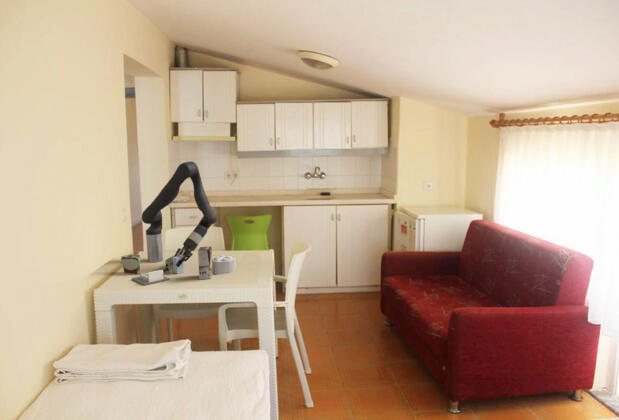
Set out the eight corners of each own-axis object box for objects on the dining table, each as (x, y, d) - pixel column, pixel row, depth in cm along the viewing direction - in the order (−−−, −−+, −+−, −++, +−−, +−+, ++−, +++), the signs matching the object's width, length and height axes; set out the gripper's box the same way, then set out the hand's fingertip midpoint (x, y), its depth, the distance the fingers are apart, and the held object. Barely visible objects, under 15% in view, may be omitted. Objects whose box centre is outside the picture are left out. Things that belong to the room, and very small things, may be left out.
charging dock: (132, 279, 263) (131, 269, 262) (156, 274, 272) (155, 264, 271) (144, 285, 251) (143, 274, 250) (169, 280, 260) (169, 269, 260)
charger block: (173, 272, 276) (172, 257, 275) (179, 271, 279) (179, 255, 278) (177, 274, 273) (176, 258, 272) (183, 272, 276) (182, 257, 274)
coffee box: (211, 279, 261) (209, 249, 259) (199, 279, 260) (197, 250, 258) (213, 274, 270) (211, 246, 268) (201, 275, 270) (199, 246, 267)
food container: (146, 271, 279) (145, 254, 278) (139, 274, 273) (138, 257, 272) (129, 270, 283) (128, 253, 282) (122, 273, 277) (120, 256, 276)
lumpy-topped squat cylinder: (211, 270, 279) (211, 255, 278) (234, 268, 283) (233, 253, 282) (214, 275, 269) (213, 259, 268) (237, 272, 274) (237, 257, 273)
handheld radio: (184, 262, 300) (166, 273, 276) (179, 263, 301) (160, 273, 276) (183, 252, 299) (164, 261, 275) (178, 252, 300) (159, 262, 275)
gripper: (182, 235, 283) (164, 259, 277) (194, 238, 273) (176, 263, 267) (191, 243, 288) (173, 266, 281) (203, 246, 277) (185, 271, 271)
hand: (175, 265), depth 274 cm, fingers closed on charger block, 4 cm apart
